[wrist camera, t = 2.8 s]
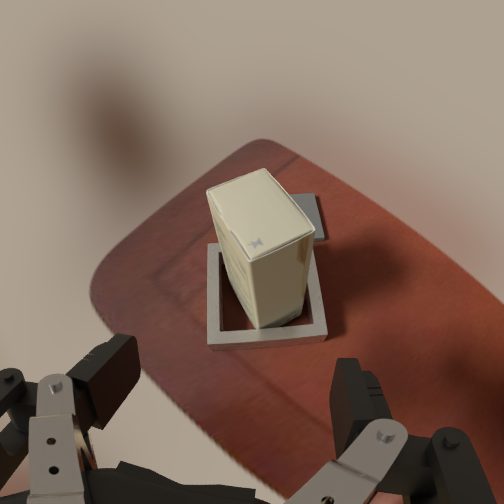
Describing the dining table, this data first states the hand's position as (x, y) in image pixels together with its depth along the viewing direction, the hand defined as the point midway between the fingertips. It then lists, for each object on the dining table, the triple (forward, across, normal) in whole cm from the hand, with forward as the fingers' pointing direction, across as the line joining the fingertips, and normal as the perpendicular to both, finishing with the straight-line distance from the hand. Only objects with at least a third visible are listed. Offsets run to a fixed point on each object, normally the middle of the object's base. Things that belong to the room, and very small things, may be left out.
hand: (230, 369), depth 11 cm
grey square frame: (+16, 0, +3) cm, 17 cm away
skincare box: (+17, 0, +3) cm, 17 cm away
